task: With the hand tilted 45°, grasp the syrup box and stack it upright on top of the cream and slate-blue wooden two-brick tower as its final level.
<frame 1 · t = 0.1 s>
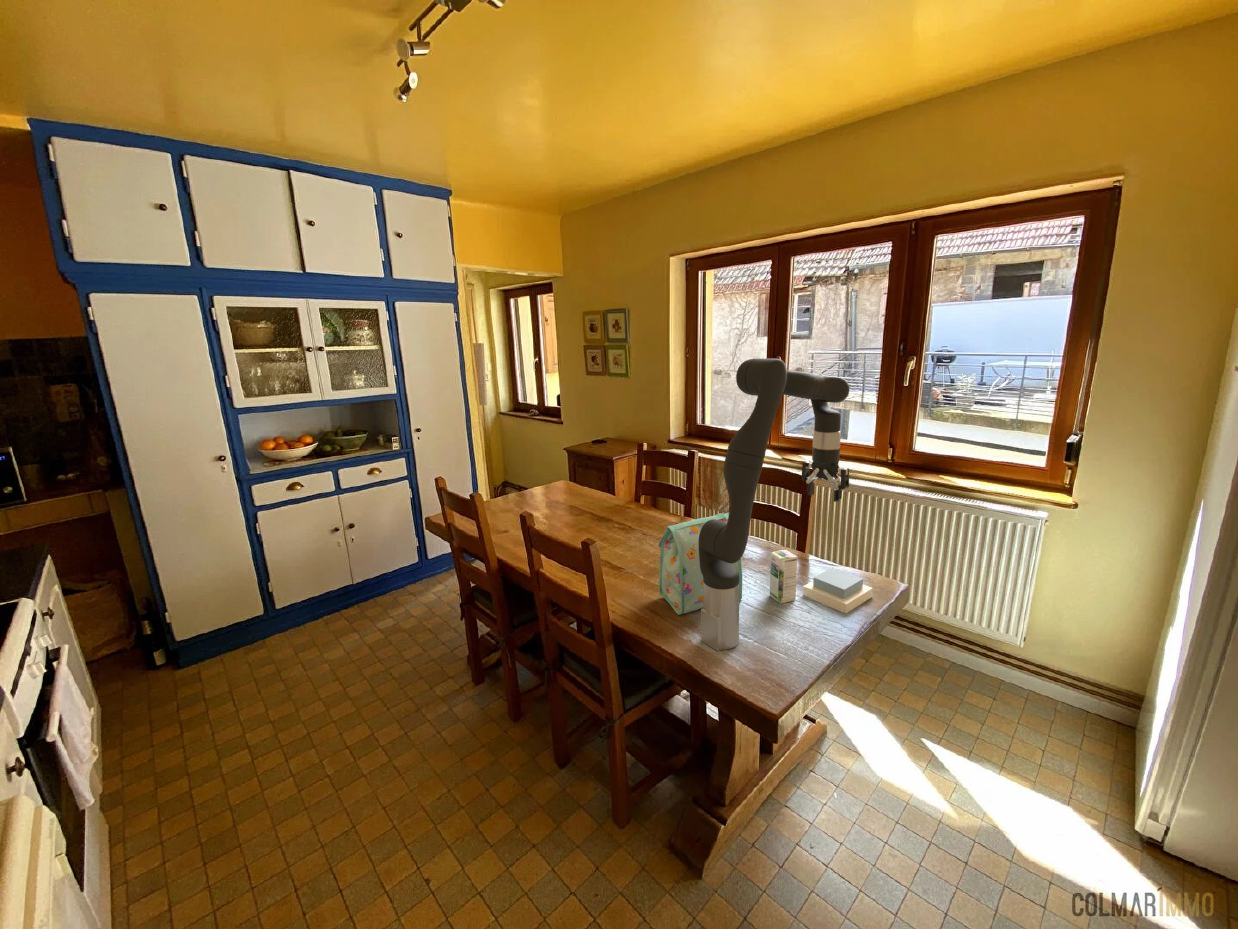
hand: (823, 498, 153), 29 cm above the table, tool pointing down, fingers open, 8 cm apart
tower base: (837, 596, 153), on the table
lunch bag: (700, 599, 156), on the table
syrup box: (782, 598, 154), on the table
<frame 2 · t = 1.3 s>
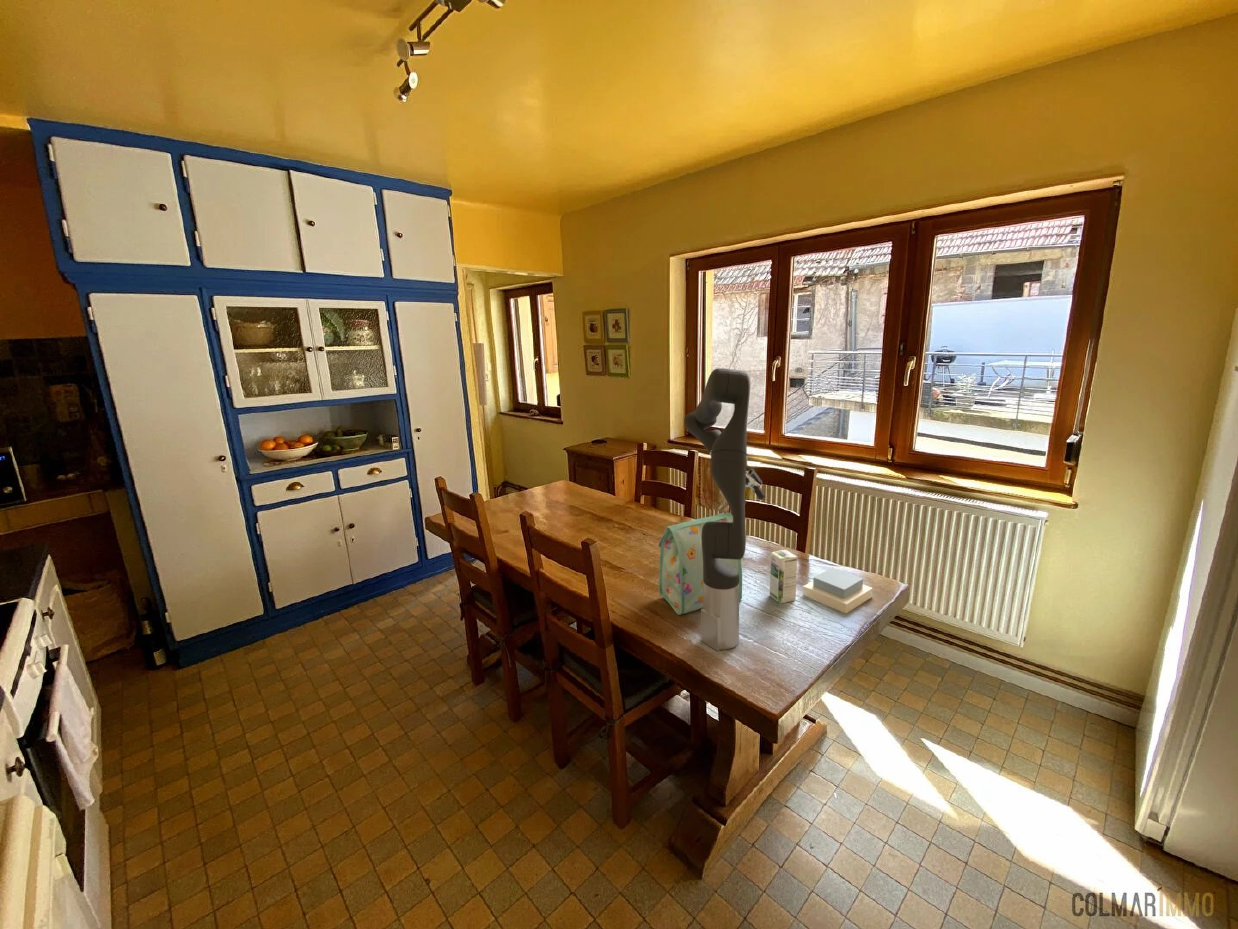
hand: (753, 501, 156), 28 cm above the table, tool tilted 45°, fingers open, 8 cm apart
nothing on the table moved.
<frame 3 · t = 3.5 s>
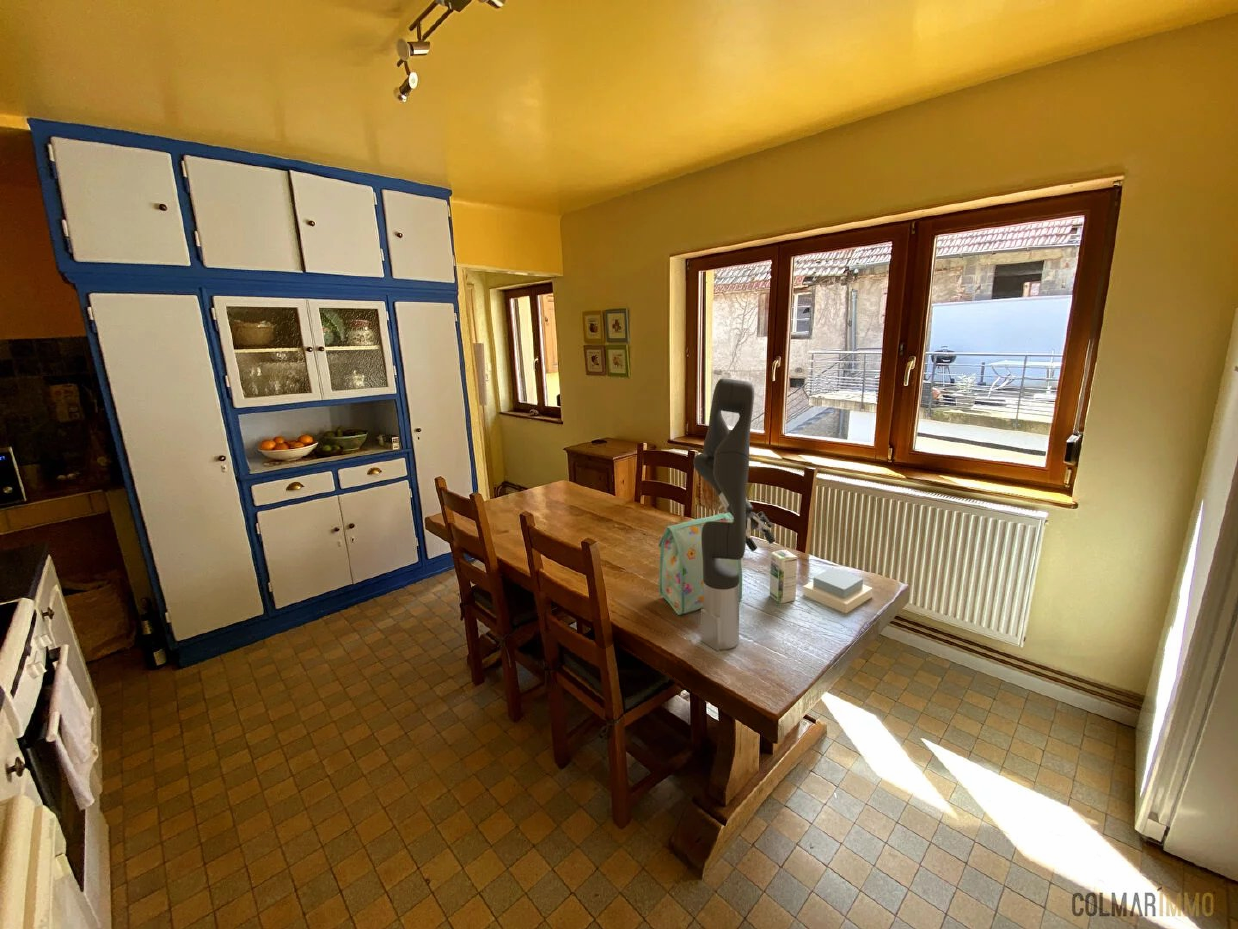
hand: (764, 546, 156), 15 cm above the table, tool tilted 45°, fingers open, 8 cm apart
nothing on the table moved.
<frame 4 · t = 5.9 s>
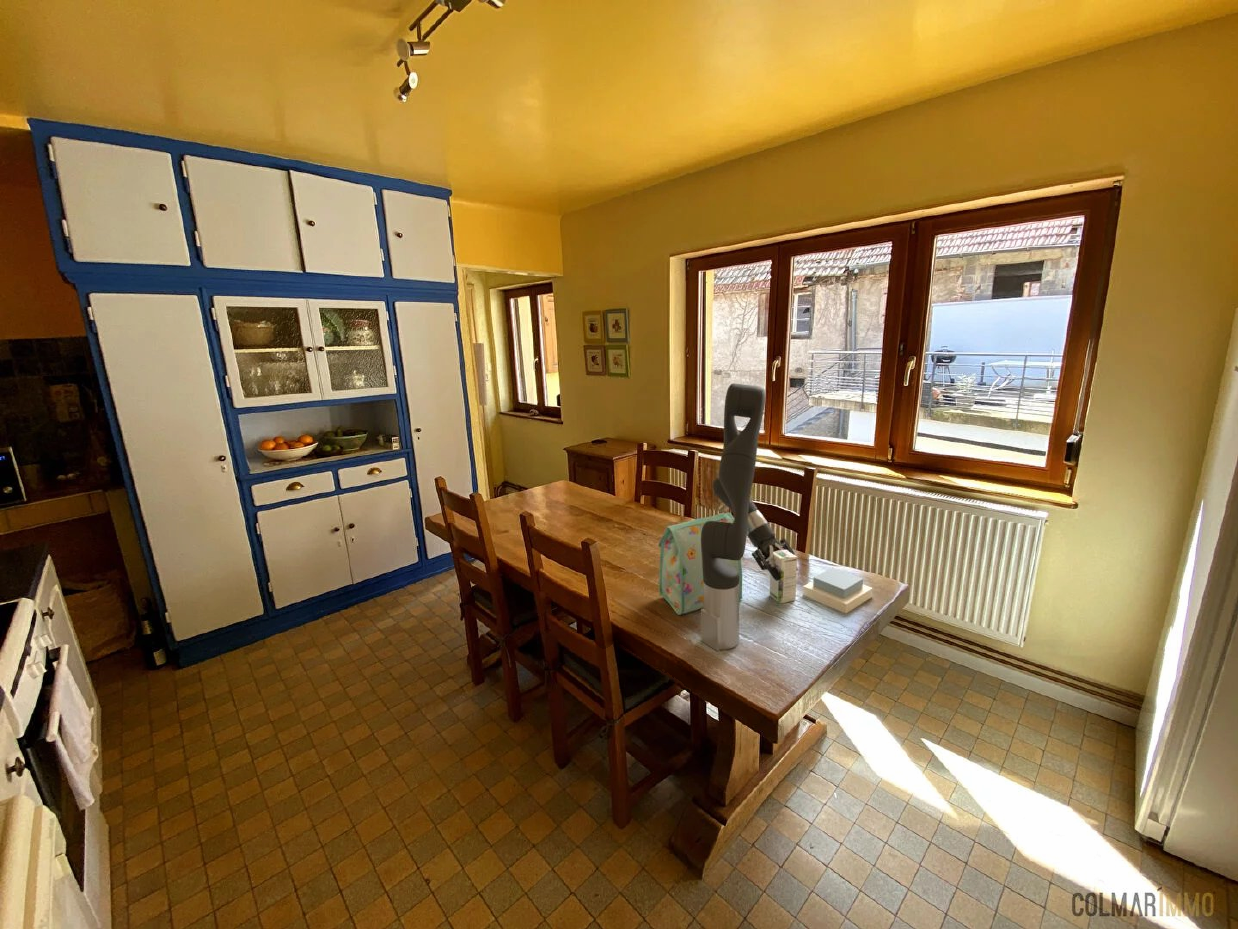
hand: (787, 575, 151), 8 cm above the table, tool tilted 45°, fingers closed on syrup box, 7 cm apart
syrup box: (782, 598, 154), on the table, touching gripper
everything else where it was.
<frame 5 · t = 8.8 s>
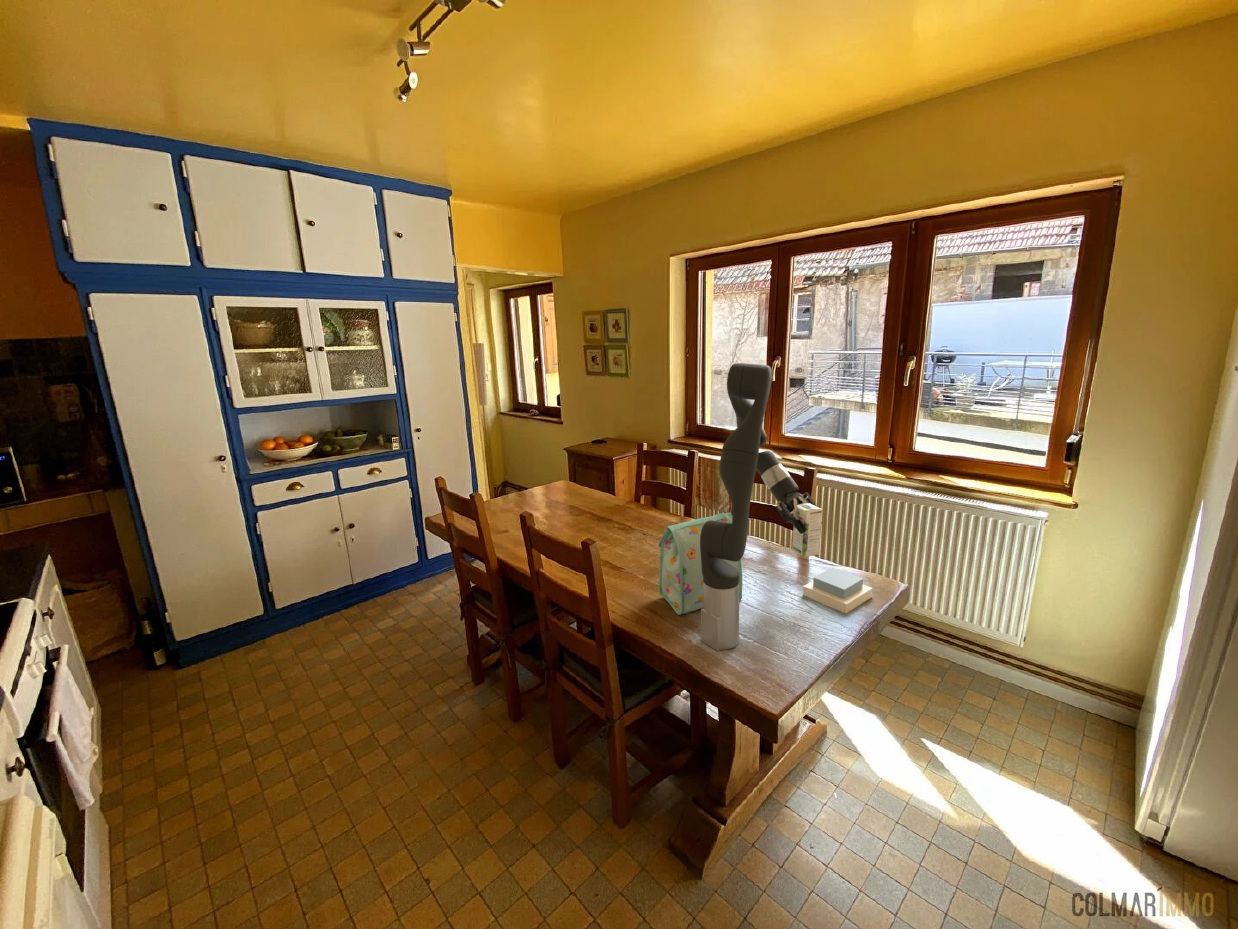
hand: (811, 528, 147), 22 cm above the table, tool tilted 45°, fingers closed on syrup box, 7 cm apart
syrup box: (805, 552, 151), point 14 cm above the table, touching gripper
everything else where it was.
when the fingers open (15 cm above the table, at t = 11.7 s): syrup box drops 1 cm, resting on tower base.
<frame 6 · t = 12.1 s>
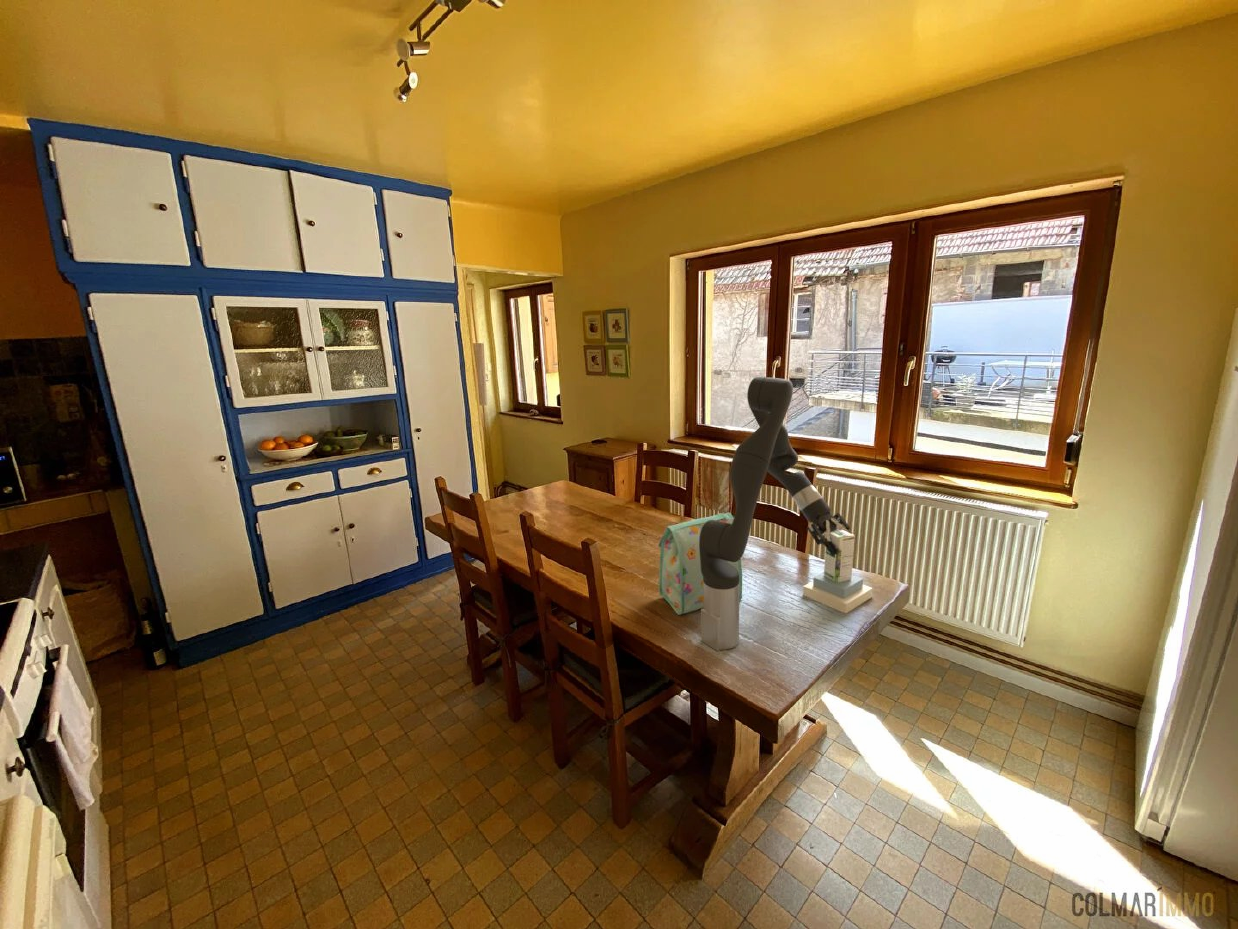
hand: (844, 549, 148), 16 cm above the table, tool tilted 45°, fingers open, 8 cm apart
syrup box: (837, 578, 152), point 6 cm above the table, touching tower base
everything else where it was.
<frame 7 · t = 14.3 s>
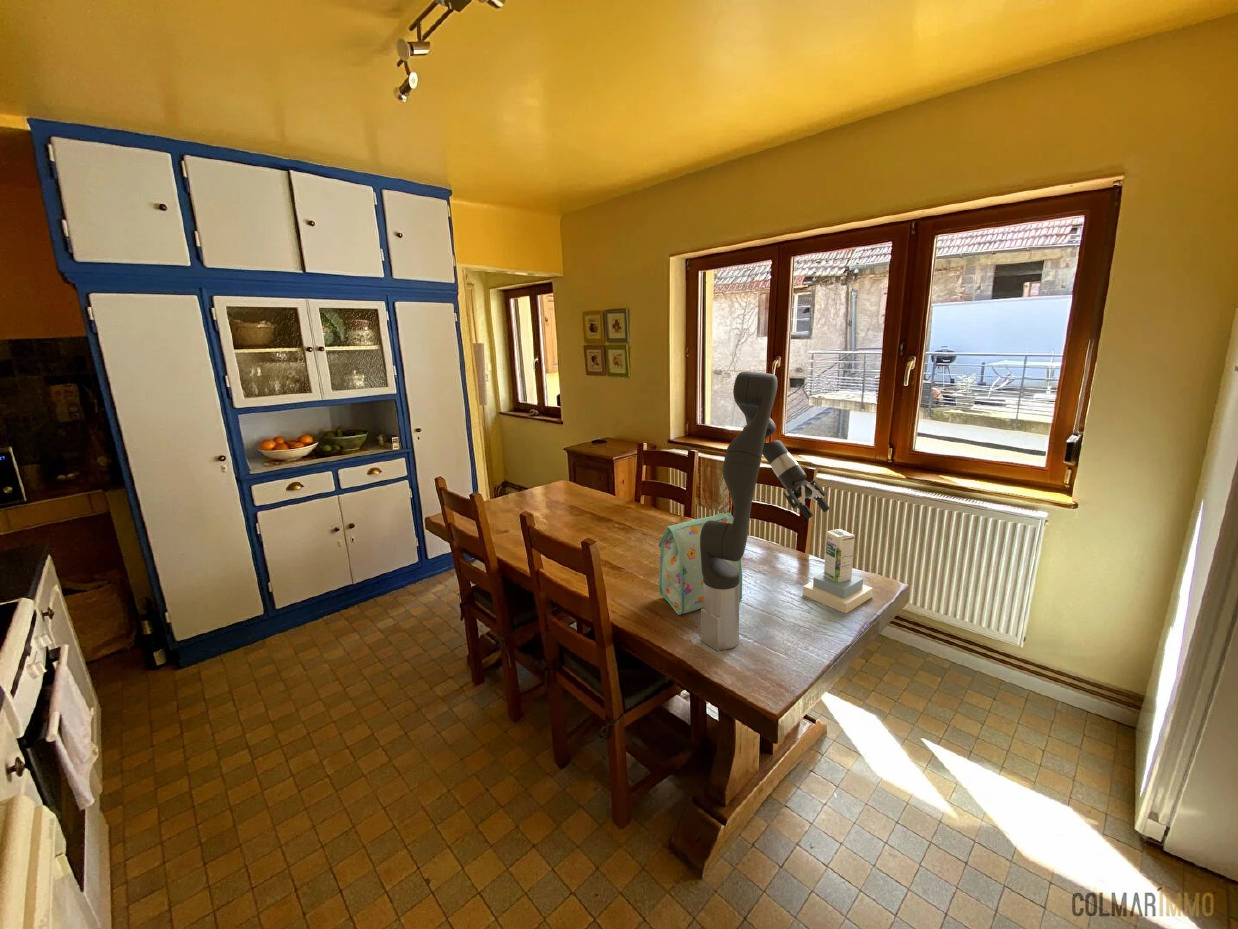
hand: (818, 514, 153), 24 cm above the table, tool tilted 45°, fingers open, 8 cm apart
nothing on the table moved.
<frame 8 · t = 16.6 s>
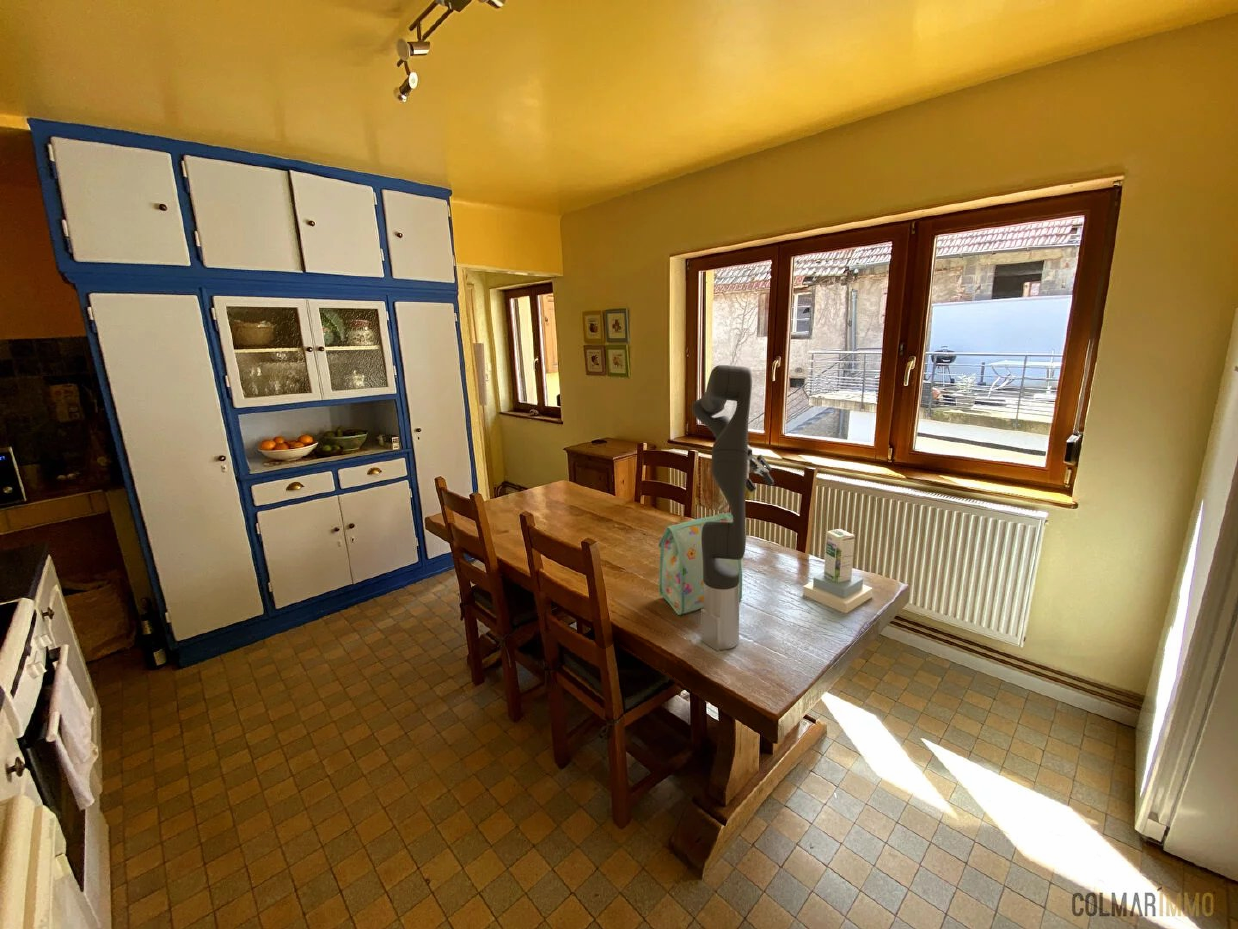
hand: (763, 487, 155), 33 cm above the table, tool tilted 45°, fingers open, 8 cm apart
nothing on the table moved.
at the end: syrup box 0.3 cm off-centre on the tower base, point 5.8 cm above the tower base's base; syrup box tilted 0°; the gripper is holding nothing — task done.
